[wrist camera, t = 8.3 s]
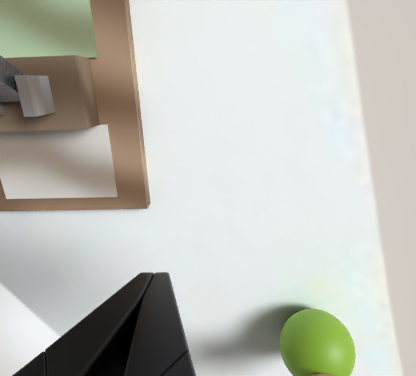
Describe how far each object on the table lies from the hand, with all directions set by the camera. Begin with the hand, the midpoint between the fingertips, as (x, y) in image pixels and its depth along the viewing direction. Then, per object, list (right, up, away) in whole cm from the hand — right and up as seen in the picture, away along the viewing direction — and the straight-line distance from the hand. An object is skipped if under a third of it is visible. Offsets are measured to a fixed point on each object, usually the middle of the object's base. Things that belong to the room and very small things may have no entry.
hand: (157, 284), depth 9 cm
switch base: (-9, +9, +11) cm, 17 cm away
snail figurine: (+9, -8, +17) cm, 21 cm away
